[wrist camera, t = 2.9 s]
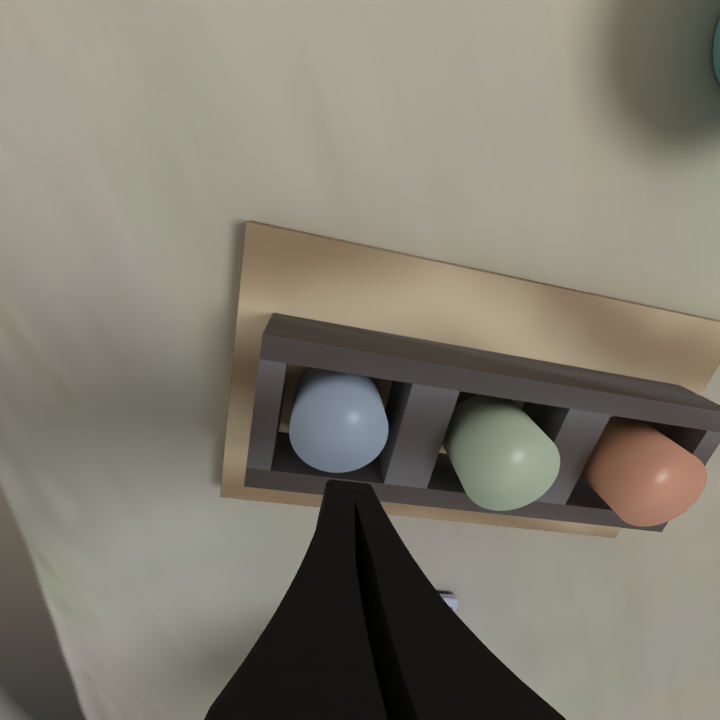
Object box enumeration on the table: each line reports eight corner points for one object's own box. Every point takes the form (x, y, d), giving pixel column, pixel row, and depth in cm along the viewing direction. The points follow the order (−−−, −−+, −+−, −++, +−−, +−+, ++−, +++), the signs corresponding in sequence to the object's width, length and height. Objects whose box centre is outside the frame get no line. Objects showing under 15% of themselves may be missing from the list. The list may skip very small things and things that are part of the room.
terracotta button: (628, 485, 20) (676, 530, 17) (560, 476, 19) (599, 521, 17) (665, 421, 19) (724, 458, 16) (593, 409, 18) (642, 446, 15)
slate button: (369, 438, 19) (376, 477, 16) (289, 427, 18) (282, 466, 16) (387, 366, 18) (399, 396, 15) (302, 352, 17) (297, 380, 14)
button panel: (604, 525, 24) (653, 582, 21) (224, 484, 21) (202, 543, 17) (722, 321, 20) (814, 348, 16) (251, 220, 16) (227, 225, 12)
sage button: (507, 469, 19) (538, 515, 16) (431, 460, 18) (450, 505, 16) (536, 400, 17) (576, 436, 15) (456, 387, 17) (481, 422, 14)
